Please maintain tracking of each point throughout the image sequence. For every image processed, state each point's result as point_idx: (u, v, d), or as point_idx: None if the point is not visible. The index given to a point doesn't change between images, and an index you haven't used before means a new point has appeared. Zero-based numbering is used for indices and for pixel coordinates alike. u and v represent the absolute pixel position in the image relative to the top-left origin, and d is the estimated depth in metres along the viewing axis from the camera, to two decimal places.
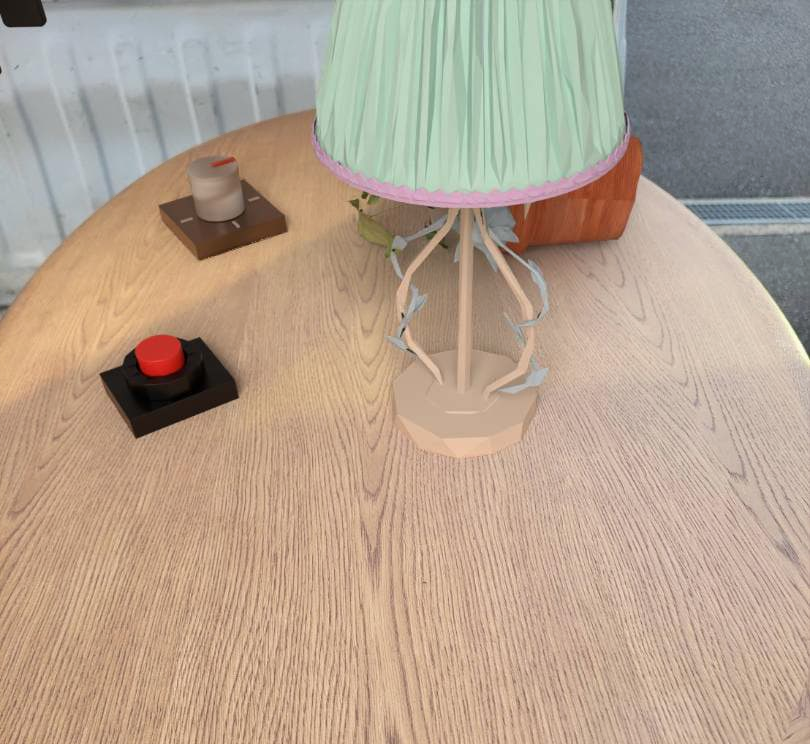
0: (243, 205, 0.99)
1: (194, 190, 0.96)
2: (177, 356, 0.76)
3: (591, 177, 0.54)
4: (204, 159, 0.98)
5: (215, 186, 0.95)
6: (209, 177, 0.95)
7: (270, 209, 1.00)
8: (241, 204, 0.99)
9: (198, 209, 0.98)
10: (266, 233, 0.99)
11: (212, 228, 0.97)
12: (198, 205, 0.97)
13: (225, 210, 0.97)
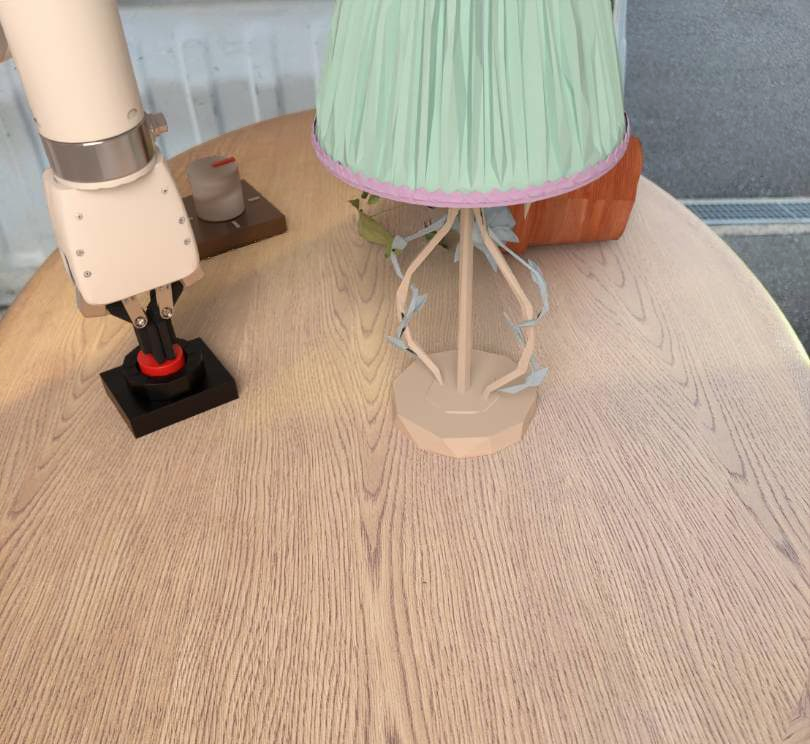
0: (243, 205, 0.99)
1: (194, 190, 0.96)
2: (178, 363, 0.77)
3: (591, 177, 0.54)
4: (204, 159, 0.98)
5: (215, 186, 0.95)
6: (209, 177, 0.95)
7: (270, 209, 1.00)
8: (241, 204, 0.99)
9: (198, 209, 0.98)
10: (266, 233, 0.99)
11: (212, 228, 0.97)
12: (198, 205, 0.97)
13: (225, 210, 0.97)
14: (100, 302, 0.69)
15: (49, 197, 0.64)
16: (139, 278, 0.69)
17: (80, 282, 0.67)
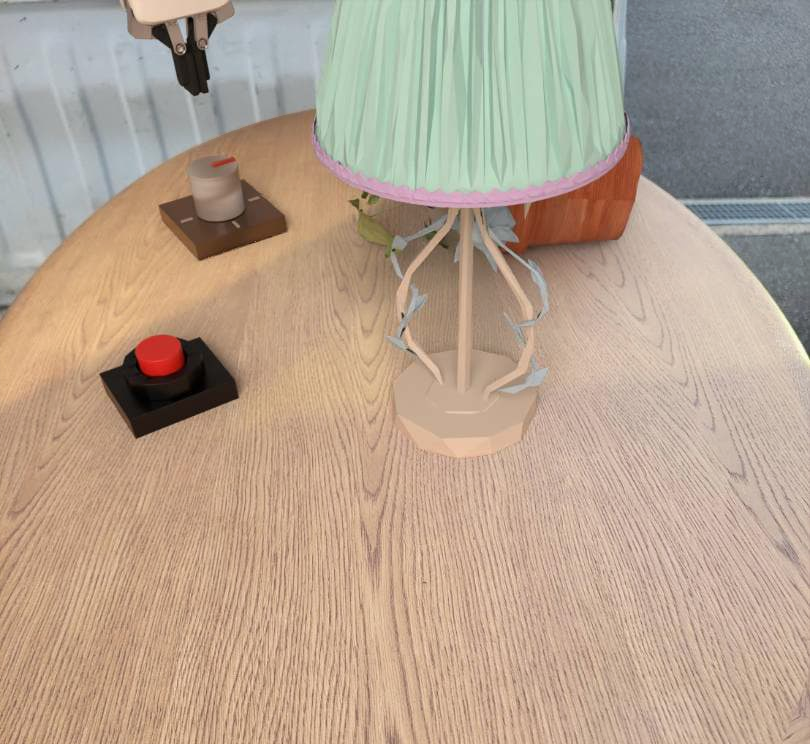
0: (243, 205, 0.99)
1: (194, 190, 0.96)
2: (177, 356, 0.76)
3: (591, 177, 0.54)
4: (204, 159, 0.98)
5: (215, 186, 0.95)
6: (209, 177, 0.95)
7: (270, 209, 1.00)
8: (241, 204, 0.99)
9: (198, 209, 0.98)
10: (266, 233, 0.99)
11: (212, 228, 0.97)
12: (198, 205, 0.97)
13: (225, 210, 0.97)
14: (148, 20, 0.82)
15: None
16: (181, 0, 0.82)
17: None
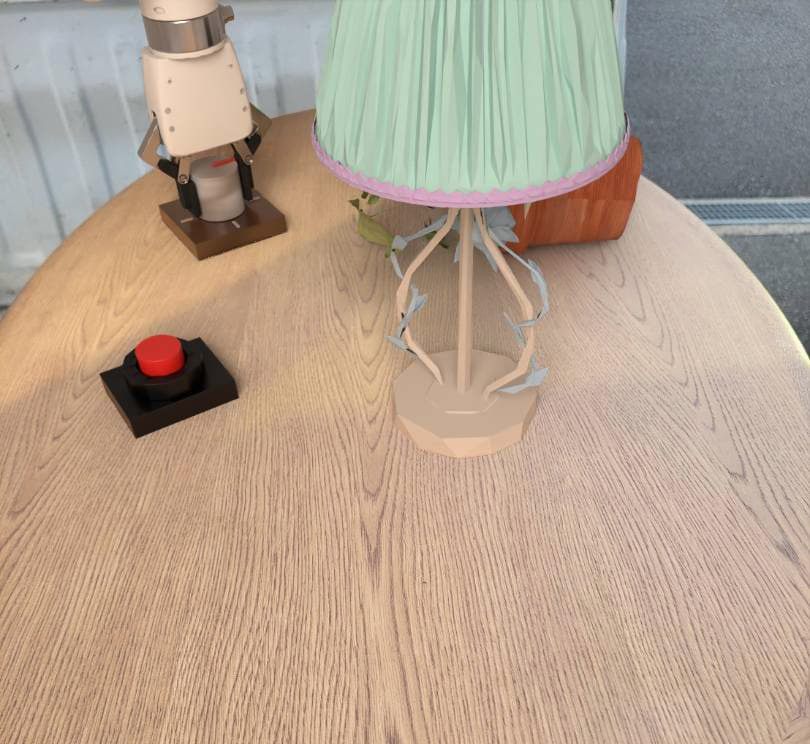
0: (243, 205, 0.99)
1: None
2: (177, 356, 0.76)
3: (591, 177, 0.54)
4: (204, 159, 0.98)
5: (215, 186, 0.95)
6: (209, 177, 0.95)
7: (270, 209, 1.00)
8: (241, 205, 0.99)
9: None
10: (266, 233, 0.99)
11: (212, 228, 0.97)
12: None
13: (225, 210, 0.97)
14: (179, 153, 0.91)
15: (146, 67, 0.86)
16: (209, 136, 0.92)
17: (166, 135, 0.90)
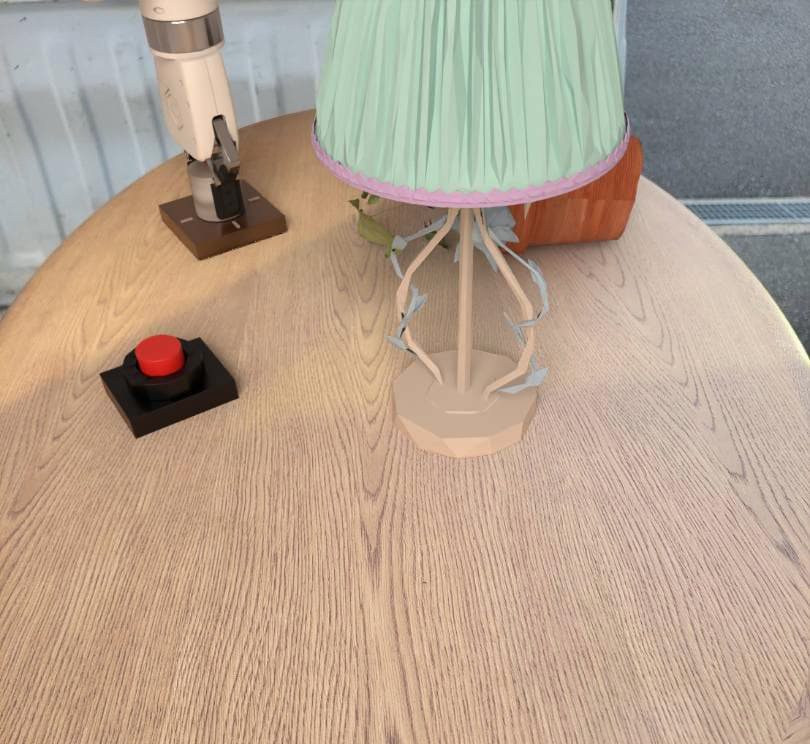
0: None
1: None
2: (177, 356, 0.76)
3: (591, 177, 0.54)
4: (193, 172, 0.96)
5: None
6: None
7: (270, 209, 1.00)
8: None
9: None
10: (266, 233, 0.99)
11: (212, 228, 0.97)
12: None
13: None
14: None
15: (207, 71, 0.85)
16: None
17: (237, 128, 0.90)
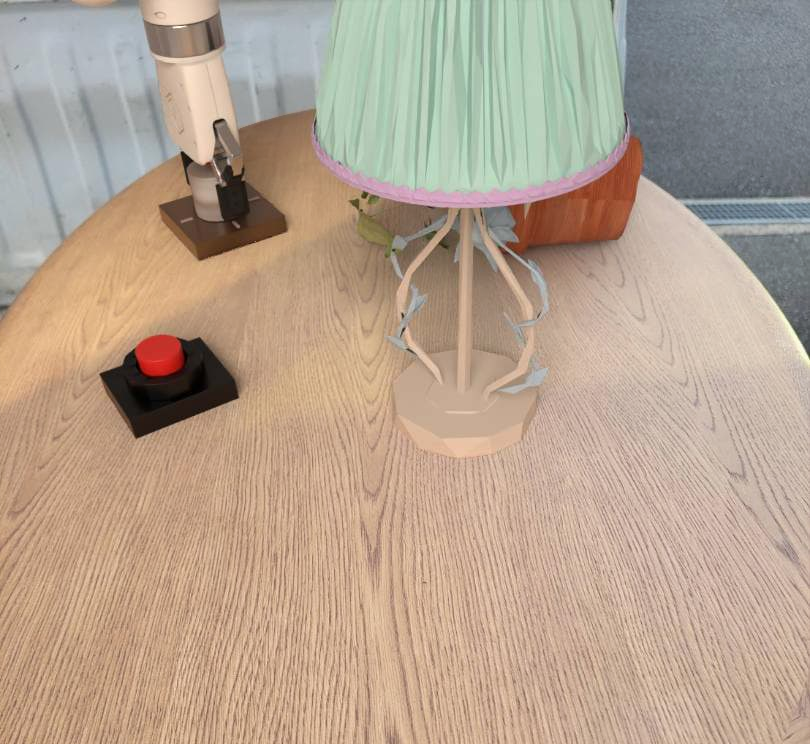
0: None
1: None
2: (177, 356, 0.76)
3: (591, 177, 0.54)
4: (193, 172, 0.96)
5: None
6: None
7: (270, 209, 1.00)
8: None
9: None
10: (266, 233, 0.99)
11: (212, 228, 0.97)
12: None
13: None
14: None
15: (208, 75, 0.86)
16: None
17: (237, 132, 0.91)
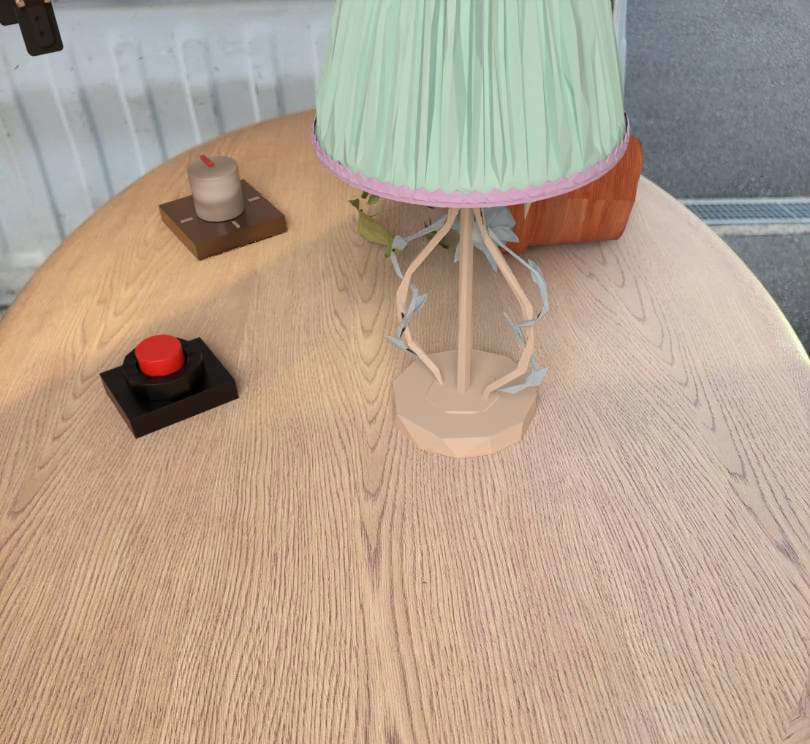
0: None
1: (230, 188, 0.96)
2: (177, 356, 0.76)
3: (591, 177, 0.54)
4: (193, 172, 0.96)
5: (238, 171, 0.97)
6: (236, 165, 0.96)
7: (270, 209, 1.00)
8: None
9: (233, 209, 0.98)
10: (266, 233, 0.99)
11: (212, 228, 0.97)
12: (234, 203, 0.97)
13: None
14: None
15: None
16: None
17: None
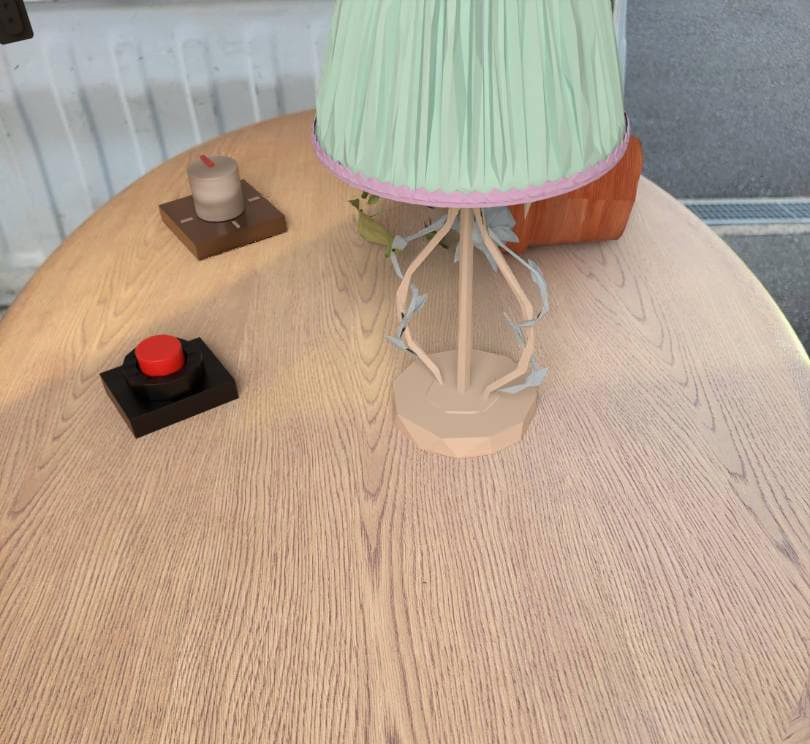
0: None
1: (230, 188, 0.96)
2: (177, 356, 0.76)
3: (591, 177, 0.54)
4: (193, 172, 0.96)
5: (238, 171, 0.97)
6: (236, 165, 0.96)
7: (270, 209, 1.00)
8: None
9: (233, 209, 0.98)
10: (266, 233, 0.99)
11: (212, 228, 0.97)
12: (234, 203, 0.97)
13: None
14: None
15: None
16: None
17: None
